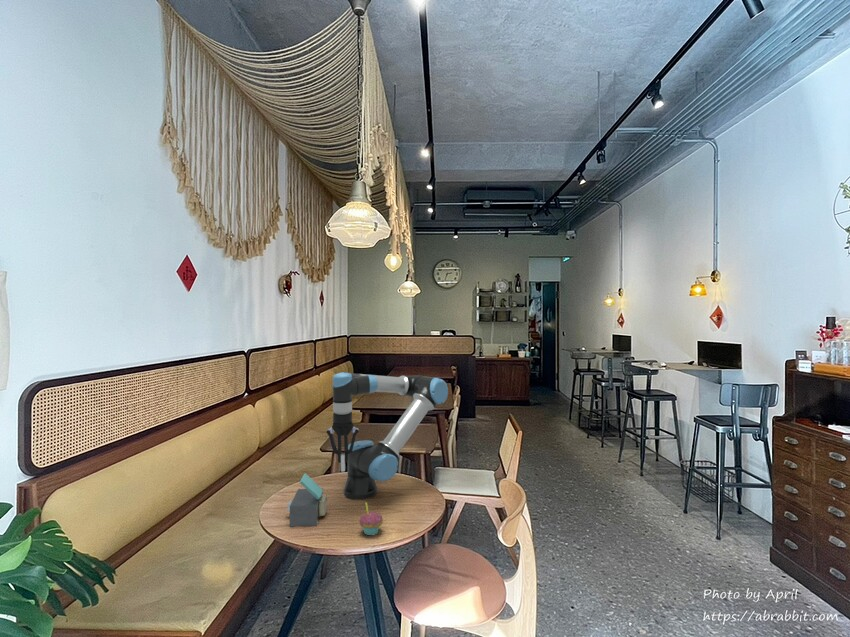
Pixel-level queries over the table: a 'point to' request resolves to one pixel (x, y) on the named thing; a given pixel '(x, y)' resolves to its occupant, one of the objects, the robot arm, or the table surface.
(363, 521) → the cupcake
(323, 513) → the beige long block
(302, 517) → the grey block
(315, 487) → the teal rectangular plate
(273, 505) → the table surface
